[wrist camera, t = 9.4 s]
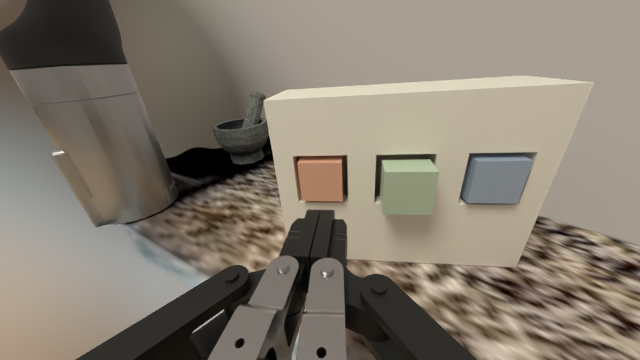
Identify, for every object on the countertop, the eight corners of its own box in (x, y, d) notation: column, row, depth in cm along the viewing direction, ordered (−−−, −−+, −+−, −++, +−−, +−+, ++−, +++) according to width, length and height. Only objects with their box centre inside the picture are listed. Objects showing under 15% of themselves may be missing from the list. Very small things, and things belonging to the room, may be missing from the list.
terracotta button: (342, 201, 18) (341, 162, 17) (301, 200, 18) (297, 163, 17) (343, 188, 20) (342, 152, 18) (306, 188, 20) (302, 153, 19)
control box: (515, 267, 19) (594, 82, 13) (289, 256, 22) (263, 100, 16) (481, 222, 24) (524, 75, 18) (302, 218, 27) (286, 90, 21)
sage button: (431, 215, 16) (439, 171, 14) (382, 214, 16) (384, 172, 15) (423, 199, 17) (430, 159, 16) (379, 198, 18) (381, 160, 16)
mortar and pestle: (239, 172, 40) (221, 99, 35) (212, 161, 46) (193, 97, 41) (287, 152, 48) (278, 89, 42) (259, 145, 53) (248, 89, 48)
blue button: (517, 203, 16) (533, 160, 15) (467, 202, 17) (477, 161, 15) (501, 189, 18) (514, 149, 16) (456, 189, 18) (464, 150, 17)
